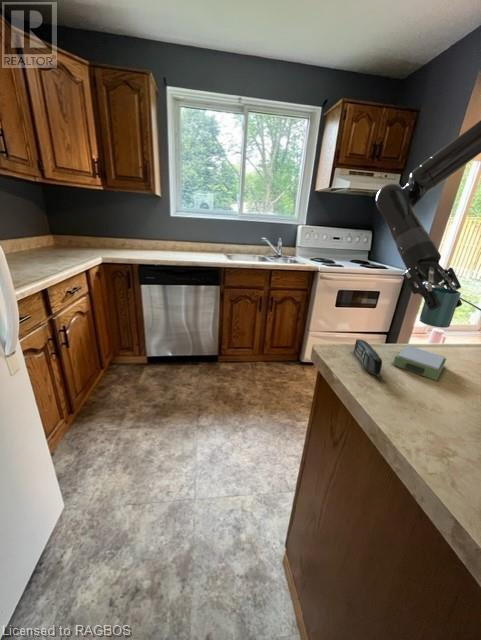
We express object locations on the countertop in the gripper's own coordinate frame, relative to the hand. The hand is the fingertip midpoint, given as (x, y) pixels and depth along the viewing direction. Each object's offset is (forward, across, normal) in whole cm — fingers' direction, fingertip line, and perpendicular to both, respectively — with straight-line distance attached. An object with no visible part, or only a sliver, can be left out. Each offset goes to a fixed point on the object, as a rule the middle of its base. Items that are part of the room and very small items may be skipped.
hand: (446, 307), depth 63 cm
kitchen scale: (+10, +2, +16) cm, 19 cm away
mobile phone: (+8, -12, +18) cm, 23 cm away
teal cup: (+2, 0, +4) cm, 5 cm away
